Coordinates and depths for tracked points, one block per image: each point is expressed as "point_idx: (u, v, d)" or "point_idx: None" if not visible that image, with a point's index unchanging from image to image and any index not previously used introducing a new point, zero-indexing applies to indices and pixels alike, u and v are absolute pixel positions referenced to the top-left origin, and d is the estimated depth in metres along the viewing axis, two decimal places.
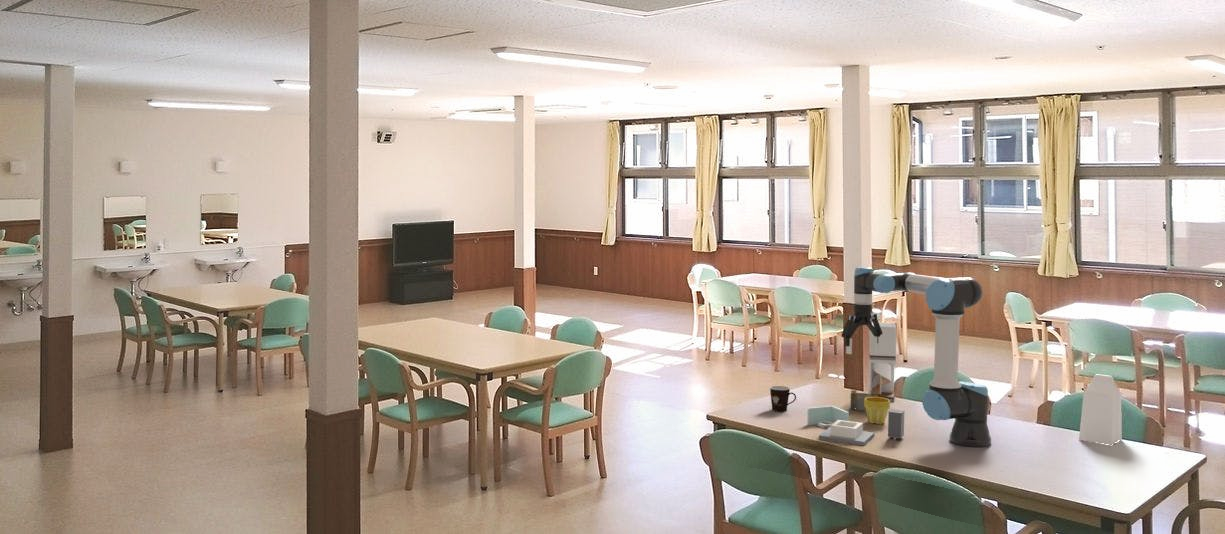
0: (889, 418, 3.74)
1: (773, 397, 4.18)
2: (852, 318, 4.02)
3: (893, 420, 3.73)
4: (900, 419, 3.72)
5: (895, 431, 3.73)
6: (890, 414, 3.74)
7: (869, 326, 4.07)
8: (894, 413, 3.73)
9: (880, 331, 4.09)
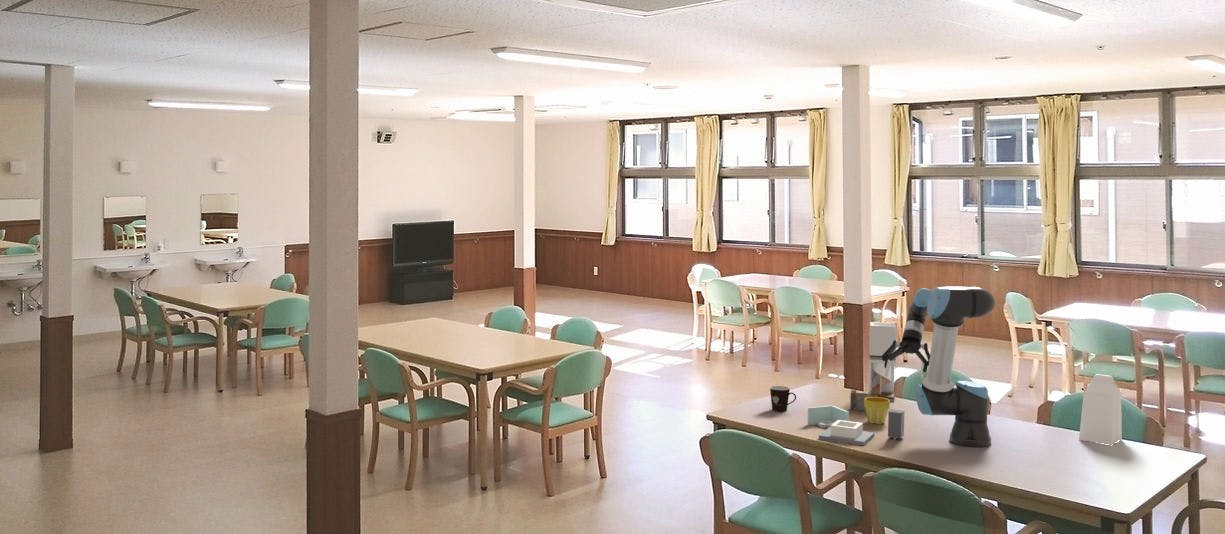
0: (889, 418, 3.74)
1: (773, 397, 4.18)
2: (894, 342, 3.94)
3: (893, 420, 3.73)
4: (900, 419, 3.72)
5: (895, 431, 3.73)
6: (890, 414, 3.74)
7: (917, 354, 3.87)
8: (894, 413, 3.73)
9: (929, 359, 3.83)
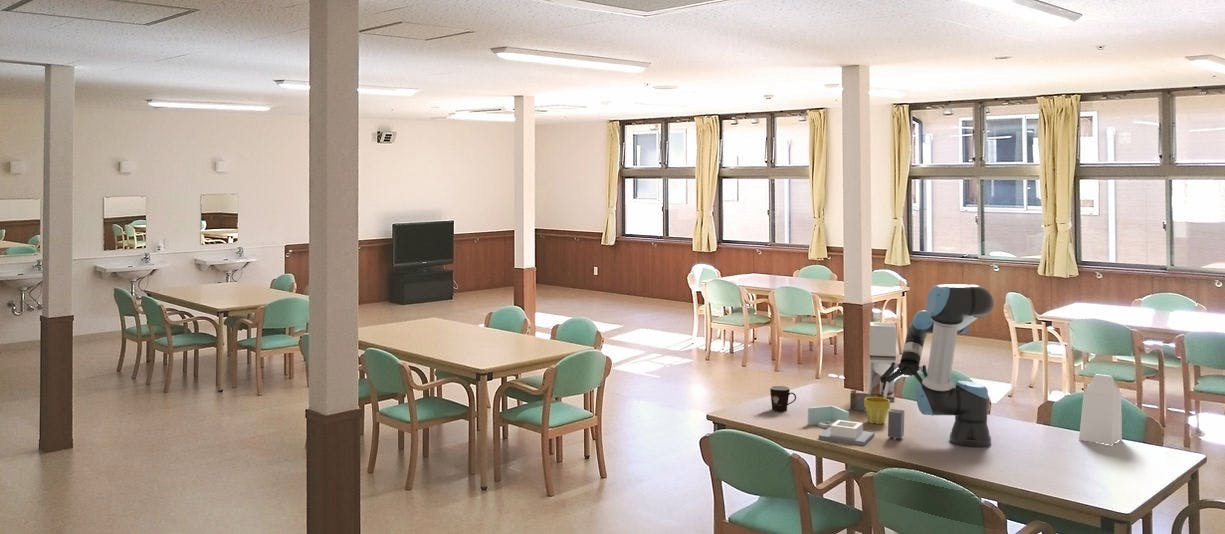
0: (889, 418, 3.74)
1: (773, 397, 4.18)
2: (892, 364, 3.94)
3: (893, 420, 3.73)
4: (900, 419, 3.72)
5: (895, 431, 3.73)
6: (890, 414, 3.74)
7: (915, 376, 3.87)
8: (894, 413, 3.73)
9: None
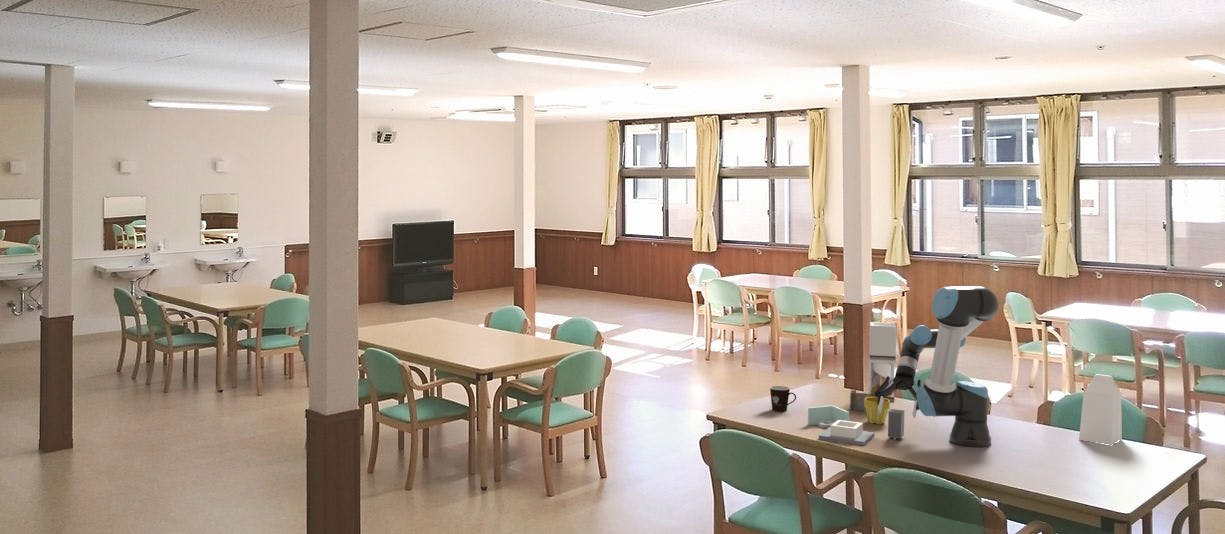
0: (889, 418, 3.74)
1: (773, 397, 4.18)
2: (887, 378, 3.89)
3: (893, 420, 3.73)
4: (900, 419, 3.72)
5: (895, 431, 3.73)
6: (890, 414, 3.74)
7: (910, 391, 3.83)
8: (894, 413, 3.73)
9: None
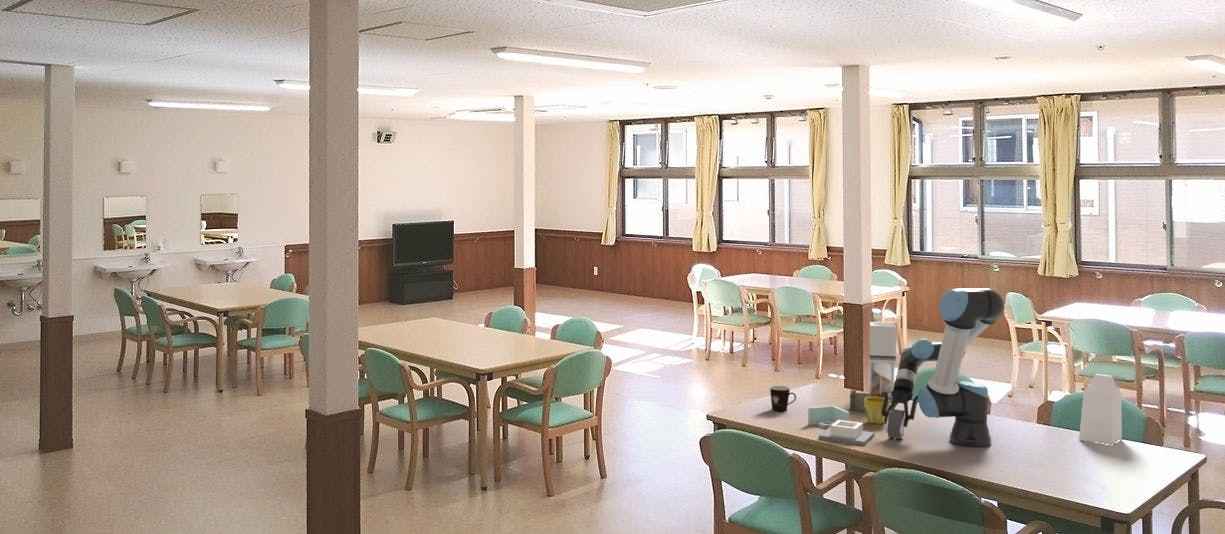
0: (889, 418, 3.74)
1: (773, 397, 4.18)
2: (885, 394, 3.83)
3: (893, 420, 3.73)
4: (900, 419, 3.72)
5: (895, 431, 3.73)
6: (890, 414, 3.74)
7: (904, 405, 3.78)
8: (894, 413, 3.73)
9: (911, 413, 3.74)
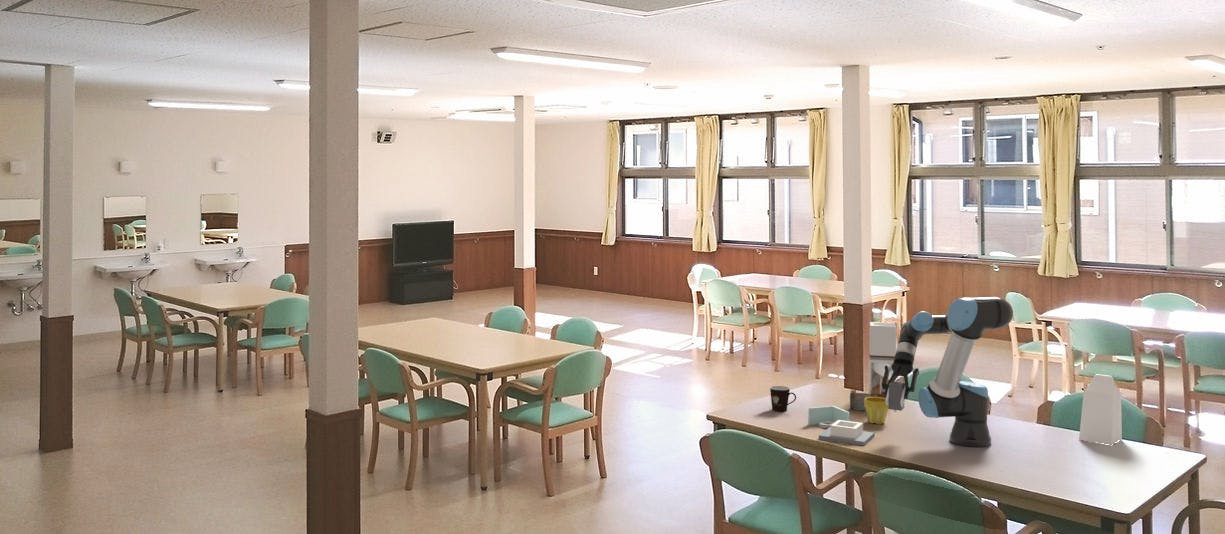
0: (889, 390, 3.73)
1: (773, 397, 4.18)
2: (886, 367, 3.83)
3: (893, 392, 3.73)
4: (900, 391, 3.71)
5: (896, 404, 3.72)
6: (890, 386, 3.73)
7: (904, 378, 3.77)
8: (894, 385, 3.72)
9: (911, 385, 3.73)
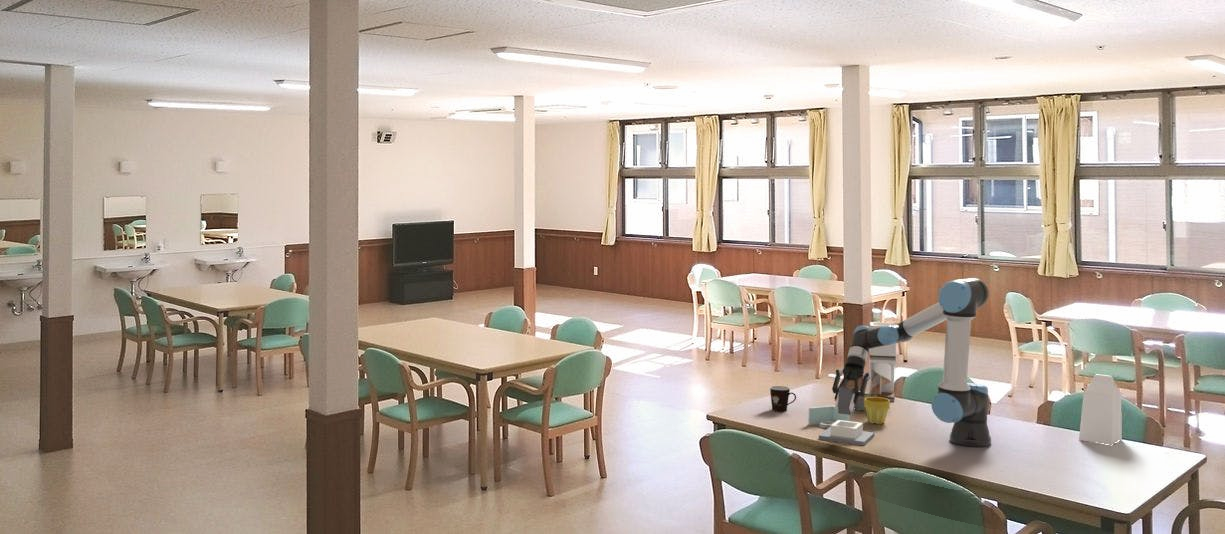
0: (839, 395, 3.75)
1: (773, 397, 4.18)
2: (837, 371, 3.83)
3: (843, 397, 3.74)
4: (850, 396, 3.72)
5: (845, 408, 3.74)
6: (840, 391, 3.74)
7: None
8: (844, 390, 3.73)
9: (861, 390, 3.74)
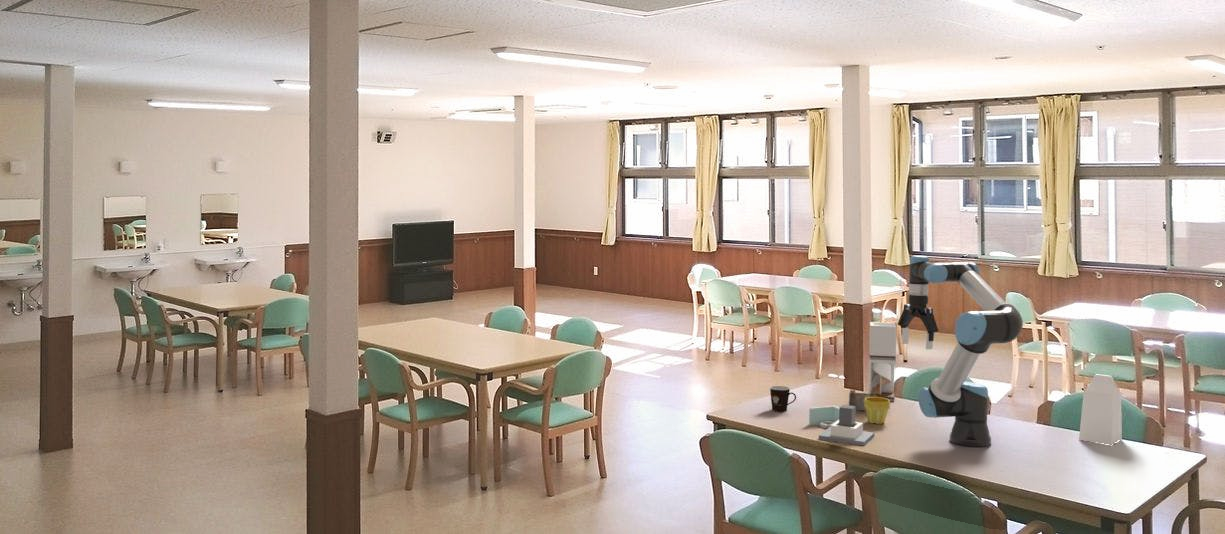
0: (840, 414, 3.75)
1: (773, 397, 4.18)
2: (904, 307, 3.88)
3: (844, 416, 3.74)
4: (851, 415, 3.73)
5: None
6: (841, 410, 3.75)
7: None
8: (845, 409, 3.74)
9: (931, 328, 3.75)
